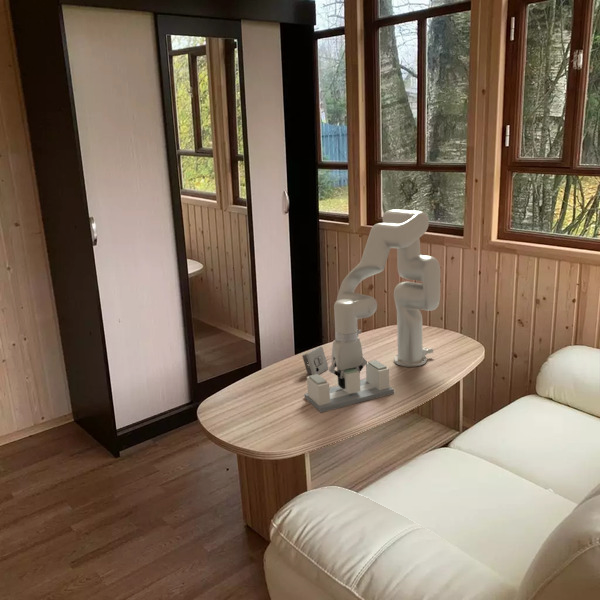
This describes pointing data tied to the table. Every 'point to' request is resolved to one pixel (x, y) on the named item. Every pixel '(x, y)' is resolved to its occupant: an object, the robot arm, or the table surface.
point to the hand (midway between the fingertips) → (348, 385)
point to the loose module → (351, 380)
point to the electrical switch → (315, 361)
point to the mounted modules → (374, 375)
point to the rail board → (350, 396)
